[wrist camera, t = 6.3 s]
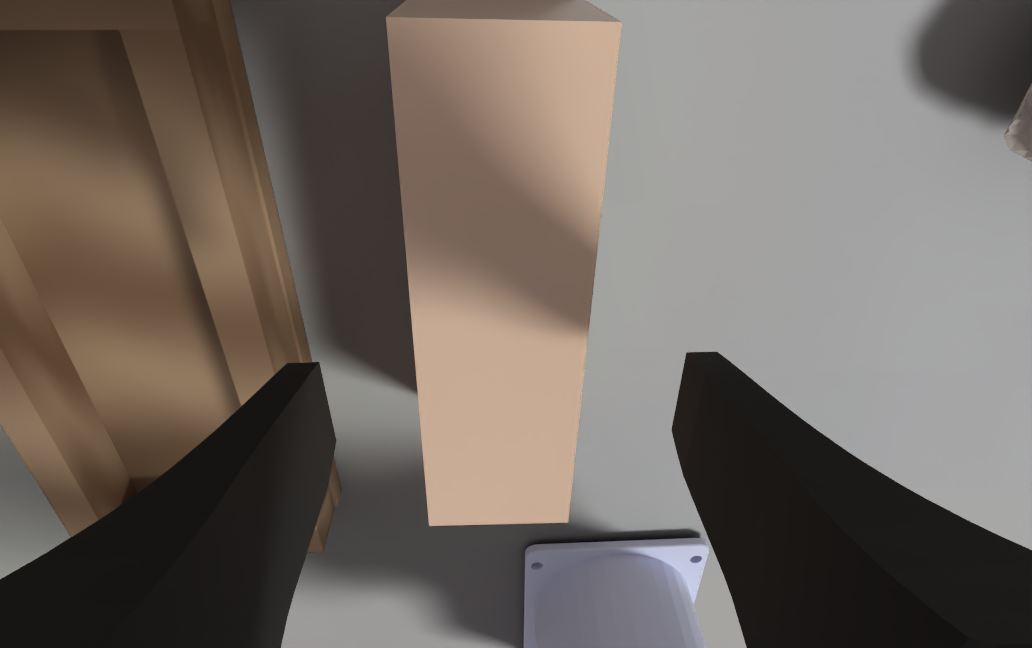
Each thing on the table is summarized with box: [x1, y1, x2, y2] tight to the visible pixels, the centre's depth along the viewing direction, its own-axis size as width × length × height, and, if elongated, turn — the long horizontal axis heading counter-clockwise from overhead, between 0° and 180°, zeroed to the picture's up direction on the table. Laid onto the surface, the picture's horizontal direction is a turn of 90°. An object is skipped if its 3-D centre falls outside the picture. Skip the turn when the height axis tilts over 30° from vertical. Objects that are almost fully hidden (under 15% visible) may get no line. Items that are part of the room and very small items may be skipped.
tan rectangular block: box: [386, 0, 622, 526], centre depth 16 cm, size 13×4×6 cm, turn 179°
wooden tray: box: [0, 0, 341, 553], centre depth 17 cm, size 18×8×3 cm, turn 0°
